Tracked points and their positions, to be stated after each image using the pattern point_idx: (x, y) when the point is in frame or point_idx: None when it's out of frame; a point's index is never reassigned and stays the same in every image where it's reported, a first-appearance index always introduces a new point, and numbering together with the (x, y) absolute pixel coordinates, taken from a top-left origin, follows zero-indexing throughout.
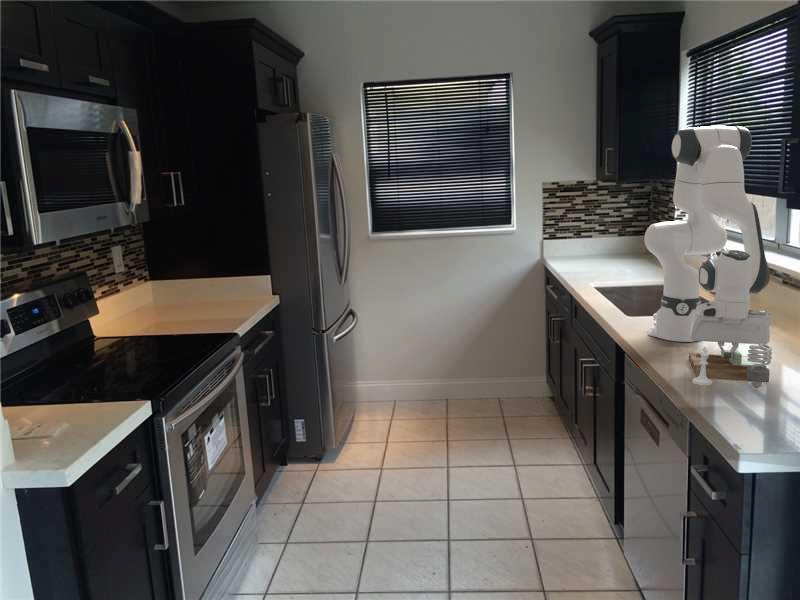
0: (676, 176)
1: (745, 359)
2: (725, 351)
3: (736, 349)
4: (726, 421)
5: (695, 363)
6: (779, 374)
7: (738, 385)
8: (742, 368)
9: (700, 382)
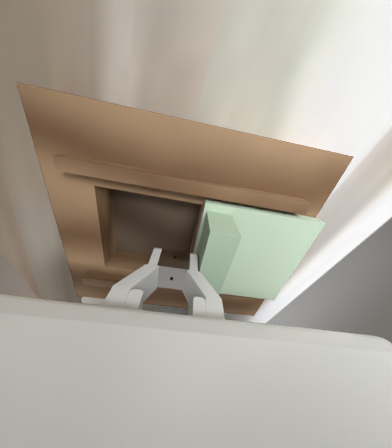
0: None
1: (250, 245)
2: (161, 281)
3: (228, 253)
4: None
5: (69, 254)
6: (320, 245)
7: (176, 307)
8: None
9: None
